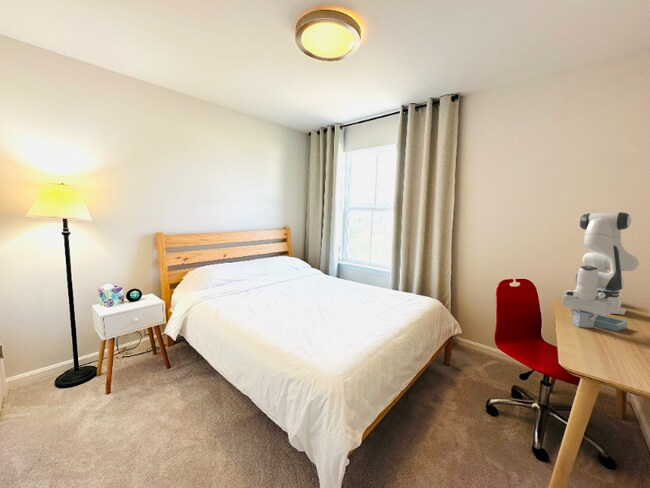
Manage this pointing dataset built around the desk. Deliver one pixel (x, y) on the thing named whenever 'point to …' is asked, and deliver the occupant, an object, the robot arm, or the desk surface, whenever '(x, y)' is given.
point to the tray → (610, 323)
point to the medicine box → (583, 319)
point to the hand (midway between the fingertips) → (583, 318)
